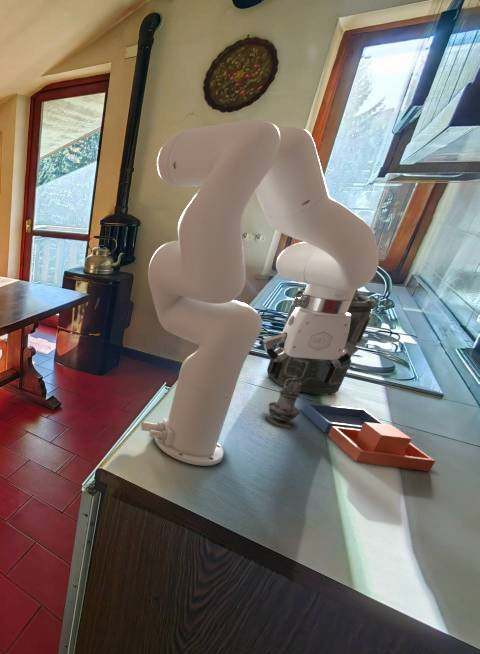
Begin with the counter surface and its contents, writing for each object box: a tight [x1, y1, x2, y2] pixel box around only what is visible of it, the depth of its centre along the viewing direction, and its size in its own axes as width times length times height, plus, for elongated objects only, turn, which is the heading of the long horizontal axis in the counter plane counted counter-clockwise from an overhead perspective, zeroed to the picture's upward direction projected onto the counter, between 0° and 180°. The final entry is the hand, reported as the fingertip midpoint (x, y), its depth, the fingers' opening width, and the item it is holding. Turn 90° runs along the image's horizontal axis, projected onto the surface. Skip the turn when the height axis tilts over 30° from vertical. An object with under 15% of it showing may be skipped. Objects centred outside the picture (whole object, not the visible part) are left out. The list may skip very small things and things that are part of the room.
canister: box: [267, 287, 377, 396], centre depth 104 cm, size 16×16×28 cm
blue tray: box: [301, 402, 385, 434], centre depth 89 cm, size 12×9×2 cm
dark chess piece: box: [264, 376, 302, 429], centre depth 89 cm, size 6×6×12 cm
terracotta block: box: [355, 422, 412, 455], centre depth 79 cm, size 5×5×5 cm
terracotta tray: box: [327, 426, 436, 472], centre depth 80 cm, size 12×9×2 cm
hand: (296, 378), depth 87 cm, fingers open, 9 cm apart
